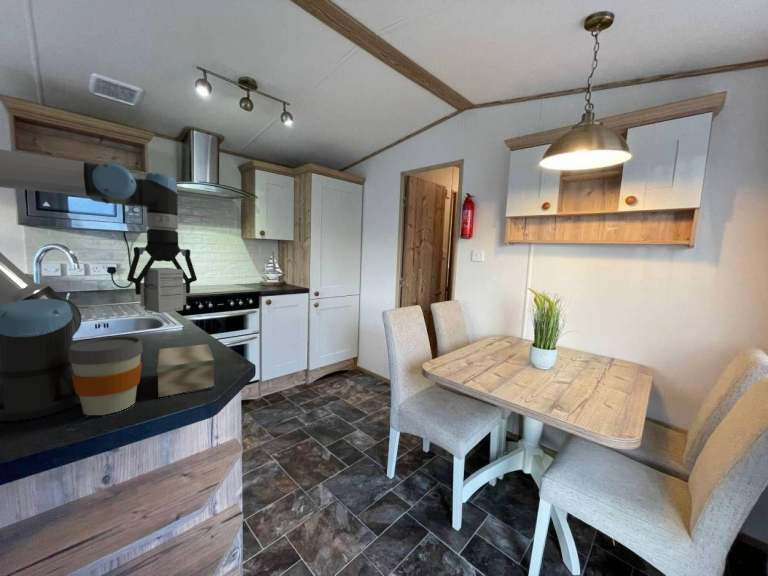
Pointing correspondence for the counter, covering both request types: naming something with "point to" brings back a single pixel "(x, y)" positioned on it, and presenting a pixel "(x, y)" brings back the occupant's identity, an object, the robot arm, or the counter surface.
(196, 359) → the maple box
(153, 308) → the supplement box
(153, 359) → the counter surface
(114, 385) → the reusable coffee cup
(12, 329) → the robot arm
